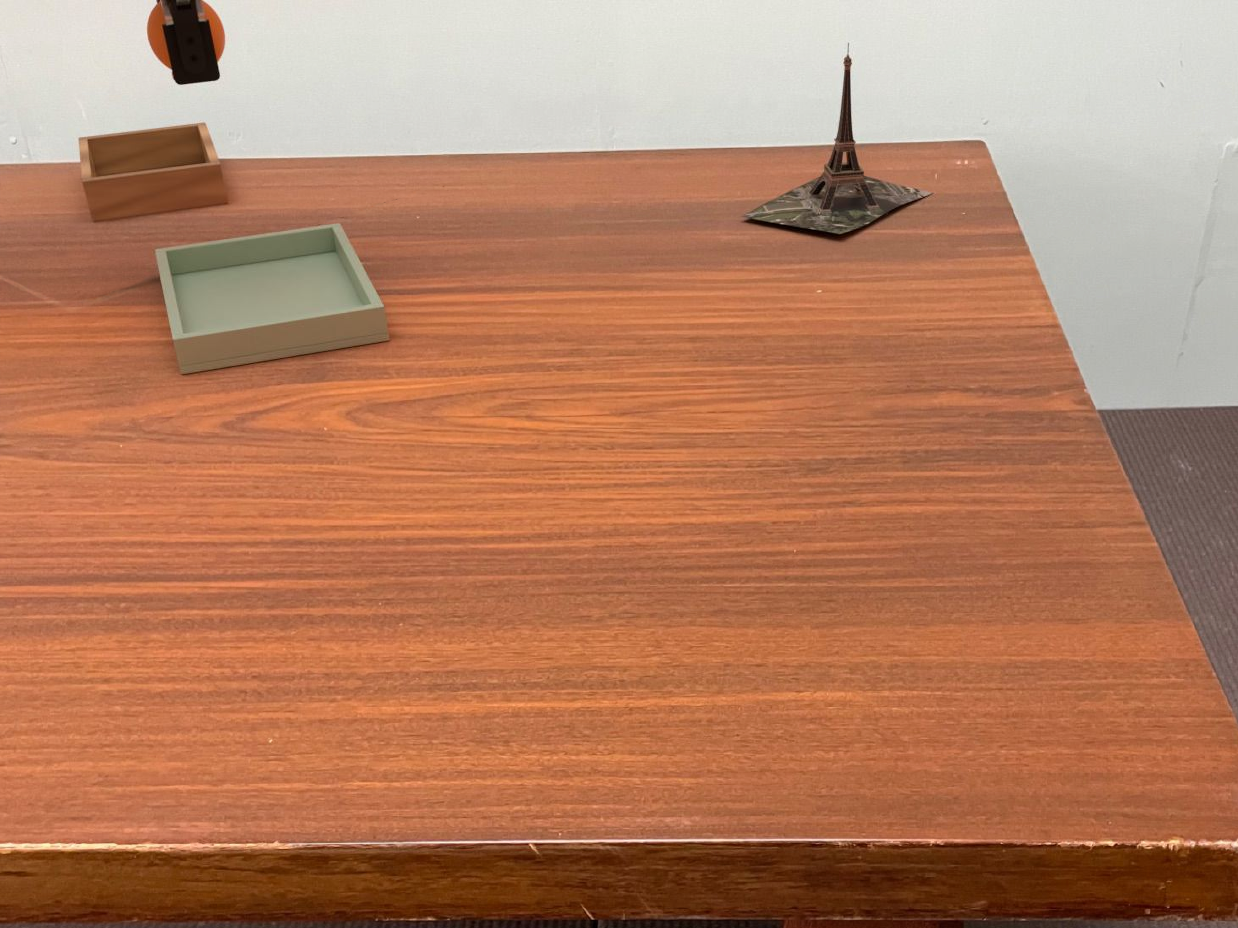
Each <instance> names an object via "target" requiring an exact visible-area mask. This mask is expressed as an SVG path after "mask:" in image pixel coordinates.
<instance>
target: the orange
mask: <svg viewBox="0 0 1238 928" xmlns="http://www.w3.org/2000/svg"><path fill="white" fill-rule="evenodd" d="M169 4H170V2H169ZM202 4H203V8H204V12H205V17H206V20H209V23H210V28H211V33H212V38H213V43H214V48H215V53H216V58H217V63H219V61H220V59H221V58H222V56H223V54H224V50H225V47H226V35H225V34H226V33H225V28H224V25H223V23H222V20H221V18H220V16H219V15H218V13H217V12H216V11H215V9H214V8H213V7H212V6H210V4H209V3H207V2H206V1H205V0H202ZM170 9H171V8H170ZM162 24H166V23H165V19H164V14H163V10H162V6H161V1H160V2H158V3H157V2H156V4H155V5H154V7H153V8H152V9H151V11H150V13H149V16H148V19H147V26H146V34H147V41H148V43H149V46H150V49H151V51H152V52H153V54H154V55H155V57H156V58H157V60H158V61H160V63H161V64H163V65H164V66H165V67H166V68H168V69H169V70H171V76H172V79H173V80H174V77H173V72H172V68H171V63H170V59H169V54H168V50H167V45H166V41H165V36H164V32H163V27H162Z"/></svg>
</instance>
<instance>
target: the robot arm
mask: <svg viewBox="0 0 1238 928" xmlns="http://www.w3.org/2000/svg"><path fill="white" fill-rule="evenodd" d="M155 1H156V4H157V3H158V2H160V1H161V6H162V10H163V14H164V19H165V23H166V24H162V27H163V32H164V36H165V41H166V45H167V50H168V54H169V59H170V63H171V68H172V70H171V73H172V72H173V77H174V79H173V81H174V82H175V83H176V84H177V85H179V86H183V85H184V86H185V85H191V84H200V83H209V82H216V81H219V80H220V78H221V73H220V69H219V64H218V63H219V62H217V58H216V53H215V48H214V43H213V38H212V33H211V28H210V23H209V20H206V17H205V12H204V8H203V4H202V0H155ZM169 2H170V4H169ZM170 8H171V9H170ZM173 77H172V78H173Z"/></svg>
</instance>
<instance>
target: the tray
mask: <svg viewBox="0 0 1238 928" xmlns="http://www.w3.org/2000/svg"><path fill="white" fill-rule="evenodd" d="M154 253H155V259H156V264H157V269H158V273H159V279H160V283H161V288H162V293H163V298H164V304H165V309H166V313H167V318H168V319H167V320H168V324H169V329H170V335H171V338H172V339H171V340H172V343H173V347H174V351H175V355H176V359H177V363H178V367H179V372H180V375H186V374H187V375H188V374H193V373H200V372H206V371H212V370H216V369H217V370H219V369H223V368H230V367H236V366H242V365H249V364H254V363H261V362H267V361H272V360H278V359H285V358H290V357H291V358H292V357H296V356H302V355H309V354H314V353H315V354H316V353H322V352H327V351H333V350H339V349H346V348H352V347H357V346H363V345H370V344H376V343H382V342H383V343H384V342H387V341H390V334H389V328H388V321H387V314H386V308H385V305H384V303H383V301H382V300H381V298H380V296H379V294H378V292H377V289H376V287H375V286H374V284H373V282H372V281H371V279H370V276H369V274H368V273H367V271H366V269H365V267H364V266H363V263H362V262H361V260H360V258H359V256H358V254H357V253H356V250H355V249H354V247H353V245H352V244H351V241H350V239H349V238H348V235H347V234H346V232H345V230H344V228H343V227H342V225H341V223H340V222H337V223H331V224H324V225H323V224H322V225H317V226H311V227H310V226H309V227H302V228H295V229H288V230H281V231H273V232H267V233H260V234H253V235H246V236H238V237H231V238H224V239H217V240H210V241H204V242H203V241H202V242H196V243H189V244H182V245H175V246H168V247H167V246H166V247H160V248H155V249H154Z"/></svg>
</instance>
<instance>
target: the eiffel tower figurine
mask: <svg viewBox="0 0 1238 928" xmlns="http://www.w3.org/2000/svg"><path fill="white" fill-rule="evenodd" d="M849 51H850V43H849V42H847V54H846V56H845V57H844V58H843V65H844V67H843V68H844V71H843V81H842V83H843V84H842V93H841V103H840V113H839V120H838V127H837V132H836V137H835V138H834V139H833V141H834V146H833V149H832V152H831V155H830V157H829V160H828V163H824V165H823V172H822V173H821V175H820V176H818V177H815V178H814V179H812V180H810V181H808V182H806V183H804V184H802V185H799V186H798V187H795V188H793V189H790V190H789V191H787V192H785V193H782V194H781V195H778V196H777V197H775V198H773V199H771V200H769V201H767V202H765V203H763V204H761V205H760V206H758V207H756V208H754V209H752V210H751V211H749V212H747V213H745V214H742V215H741V216H740V217H742V218H745V219H746V218H747V219H753V220H756V221H761V222H768V223H773V224H779V225H786V226H791V227H797V228H803V229H809V230H816V231H820V232H821V231H822V232H828V233H832V234H838V235H841V234H845V233H848V232H851V231H854V230H856V229H857V230H858V229H859V228H863V227H865V226H866V225H869V224H870V223H872V222H873V221H875V220H877V219H879V218H880V217H881V216H883V215H888V214H889V212H890V211H892V210H894V209H896V208H898V207H900V206H902V205H905V204H908V203H911V202H914V201H916V200H919V199H921V198H924V197H927V196H929V195H932V194H933V192H931V191H927V190H923V189H918V188H914V187H909V186H905V185H901V184H896V183H892V182H888V181H884V180H881V179H878V178H874V177H871V176H867V175H865V171H864V169H862V167H861V166H860V163H859V160H858V156H857V151H856V147H855V144H856V143H857V142H856V140H855V139H854V134H853V119H852V89H851V87H852V86H851V85H852V84H851V80H852V79H851V69H852V68H851V67H852V65H853V62H852V60H853V59H852V58H851V57H850V55H849ZM844 153H845V156H846V157H845V158H846V162H843V159H844Z"/></svg>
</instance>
